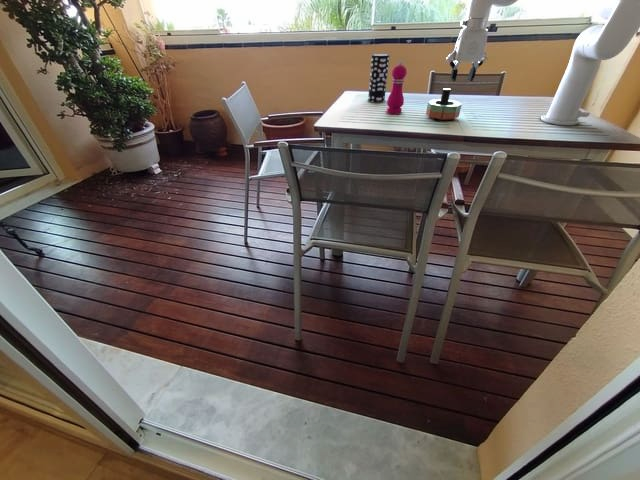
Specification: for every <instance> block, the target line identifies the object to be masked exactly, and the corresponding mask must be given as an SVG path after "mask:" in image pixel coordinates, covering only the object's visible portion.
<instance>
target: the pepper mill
mask: <svg viewBox="0 0 640 480" xmlns="http://www.w3.org/2000/svg"><path fill="white" fill-rule="evenodd" d="M403 64H404V63H403V61H402V60H400V61H398V62H397V65H396V66H394V67H393V68H392V71H391V76H392V78H391V79H392V80H391V83H392V87H391V90H390V94H389V95H388V97H387V100H386V105H387V108H386V113H387V114H388V115H401V113H402V109H403V108H402V107H403V105H404V103H405V98H404V93H403V84H404V83H405V77H406V76H407V75H408V69H407V67H405V66H404V65H403Z"/></svg>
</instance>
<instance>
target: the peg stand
mask: <svg viewBox="0 0 640 480" xmlns="http://www.w3.org/2000/svg"><path fill="white" fill-rule="evenodd" d="M451 91H452V89H451V88H448V87H447V88H446V87H445V88H443V89H442V91H441V97H440V100H441V101H440V105H448V100H450V95H451ZM430 118H431V119H432V120H433V121H454V120H455V119H437V118H432V117H430Z"/></svg>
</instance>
